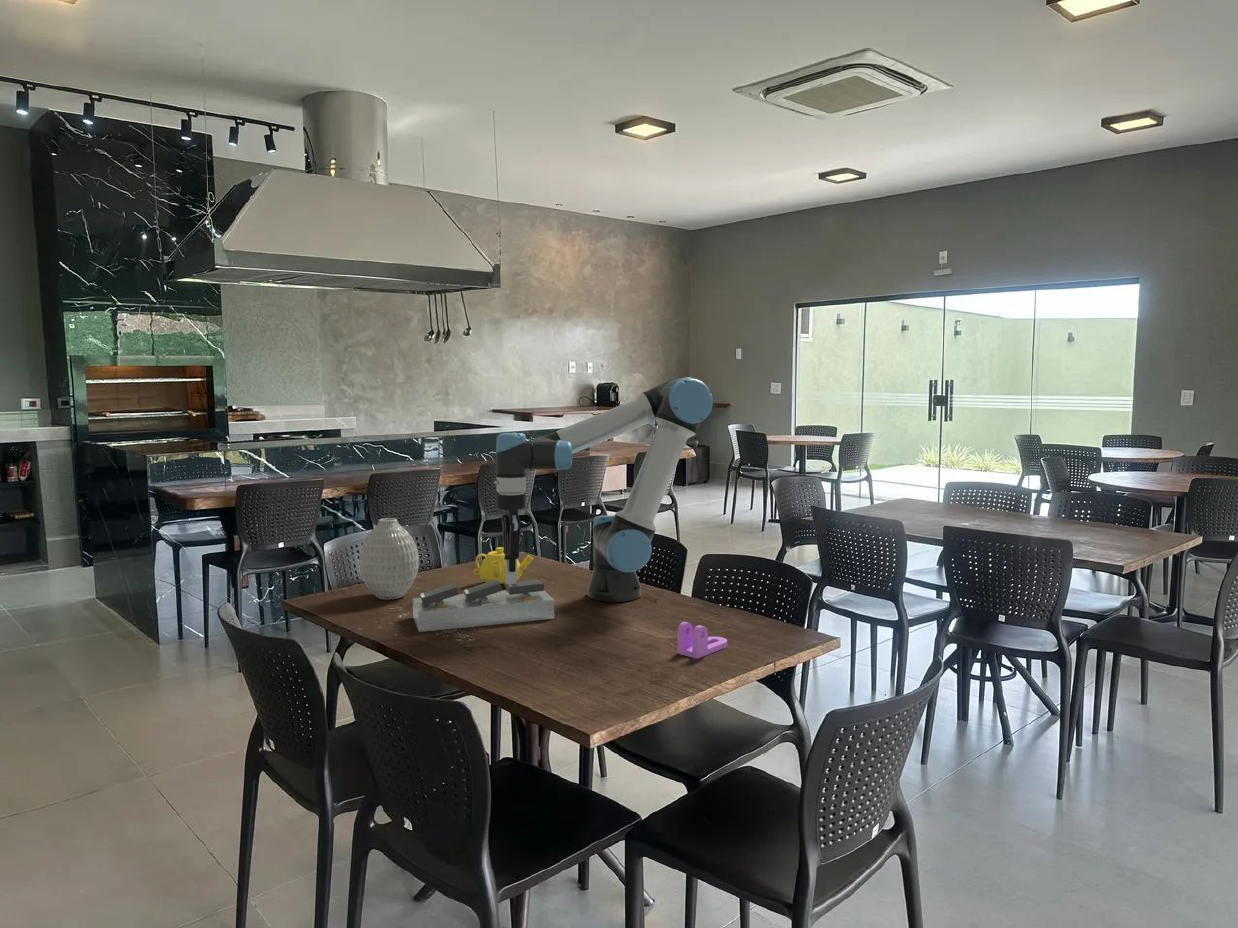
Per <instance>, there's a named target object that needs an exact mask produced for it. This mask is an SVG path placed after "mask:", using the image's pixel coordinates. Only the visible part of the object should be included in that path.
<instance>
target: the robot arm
mask: <svg viewBox="0 0 1238 928" xmlns="http://www.w3.org/2000/svg"><path fill="white" fill-rule="evenodd" d="M713 399H714V398H713V394H712V392H711V390H710V388H709V387H708V385H706V384H705V382H703V381H702V380H699V379H697V378H693V377H688V376H687V377H681V378H680V377H673V378H671V379H668V380H666V381H663V382H662V383H661V382H660V384H658V385H656V386H654V387H652V388H650V389H647V390H645V391H643V392H640V393H639V395H638V397H637V398H635V399H633V400H630V401H628V402H626V403H623V404H621V405H617V406H615V407H613V408H611V409H608V410H605V411H602V412H601V413H598V414H596V415H593V416H590V417H589V418H586V419H583V420H581V421H578V422H575V423H573V424H571V425H568V426H565V427H564V428H561V429H558V430H557V431H553V432H551V433H549V434H546V435H542V436H541V435H540V436H538V437H535V438H533V439H532V440H527V437H526V434H525V433H524V432H523V433H521V432H503V433H501V432H500V433H499V434H497V436H496V445H495V447H496V448H495V469H496V471H495V474H496V475H495V476H496V477H495V478H496V480H494V481H493V483H494V485H496V490H495V491H496V492H497V494H496V498H495V499H496V500H495V502H496V504H495V506H496V508H497V509H498V510H501V511H503V514H502V516H501V518H500V519H501V528H502V547H503V549H504V551H503V553H504V554H505V557H504V559H505V583H506V584H517V582H518V580H517V559H519V557H520V543H521V541H520V538H521V528H522V523H521V516H520V515H519V510H523V509H525V508H526V503H527V502H526V501H527V498H526V494H525V492H526V491H527V474H526V472H527V471H532V470H534V471H535V470H537V471H538V470H539V471H540V470H541V471H542V470H546V471H547V470H548V471H549V470H552V471H553V470H555V471H560V470H569V469H571V467H572V465H573V454H576V453H579V452H581V451H583V450H586V449H588V448H590V447H593V446H595V445H599V444H601V443H602V442H603V443H604V442H605V441H608V440H610V439H613V438H615V437H618V436H620V435H623V434H625V433H628V432H630V431H633V430H635V429H639V428H641V427H643V426H645V425H651V426H655V425H657V428H656V430H655V433H654V435H653V437H652V440H651V442H650V445H649V446H648V449H647V451H646V454H645V456H644V458H643V462H642V463H641V466H640V469H639V471H638V474H637V476H636V478H635V480H634V483H633V485H632V487H631V490H630V493H629V495H628V497H627V500H626V502H625V505H624V507H623V509H622V510H619V511H616V512H615V514H614V515H609V514H608V515H598V516H595V517H594V519H593V525H592V532H593V533H592V535H593V537H592V540H593V549H592V550H593V570H592V573H591V576H590V580H589V583H588V587H587V597H588V598H589V599H590V600H594V601H599V602H606V603H609V602H610V603H611V602H612V603H619V602H629V601H633V600H637V599H639V598H640V597H642V587H641V583H640V581H639V577H638V575H637V571H640V570H641V569H643V567H645V566H646V565H647V563H648V562H649V560H650V559H651V556H652V549H653V548H652V541H653V539H654V538H653V537H654V535H655V533H656V531H657V529H656V526H655V523H654V520H655V518H656V516H657V513H658V512H659V508H660V506H661V504H662V502H663V499H664V497H665V495H666V492H667V490H668V487H669V484H670V482H671V480H672V477H673V475H674V473H675V470H676V468H677V466H678V464H679V460H680V458H681V456H682V453H683V452H684V451H683V450H684V449H685V446H686V443H687V441H688V439H690V438H691V437H693V436H696V435H697V432H698V429H699V427H700V425H701V422H703V421H704V420H705V419H707V417H708V416H710V413H711V412H712V408H713V405H714V403H713Z"/></svg>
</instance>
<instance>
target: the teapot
mask: <svg viewBox="0 0 1238 928" xmlns="http://www.w3.org/2000/svg"><path fill="white" fill-rule="evenodd" d="M503 551H504V549H503V546H501V547H500V546H499V547H496V548H495V550H493V551H490V552H487V554H485V553H480V554H477V556H476V557H475V565H476V568H475V569H474V570H473V575H474V576H477V577H480V579H481V580H482V581H483V582H484V583H487V582H490V581H493V580H496V579H497V580H498V581H499V582H500V584H501V585H502V584H503V585H504V587H505V588H506V583H505V559H504V557H505V554H504V553H503ZM481 557H484V558H483V561H482V562H481V565H480V564H479V558H481ZM533 560H534V558H533V557H532V556H531V555H529V554H527V556H526V557H525V558H524V559H523V560H522V562H521V563H520V561H519V558H517V581H518V580H519V579H520V578H521V576H522V574H523V572H524V571H525V569H526V568H527V567H528V566H529V565H530V563H531V562H533Z"/></svg>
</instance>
